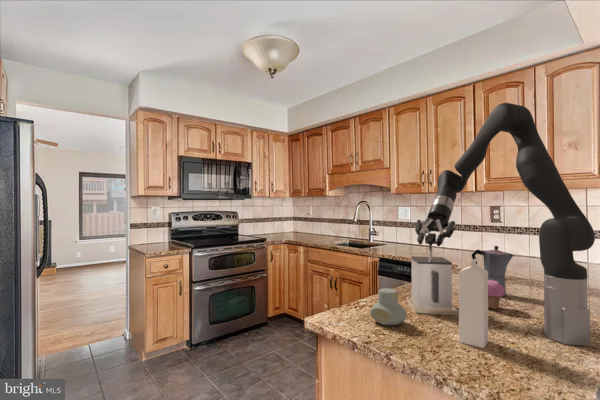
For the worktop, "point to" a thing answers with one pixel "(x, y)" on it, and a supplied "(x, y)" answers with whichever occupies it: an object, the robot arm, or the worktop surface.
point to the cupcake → (494, 294)
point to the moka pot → (495, 264)
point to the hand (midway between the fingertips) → (428, 243)
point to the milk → (473, 305)
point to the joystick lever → (430, 242)
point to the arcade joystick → (431, 286)
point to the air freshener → (388, 308)
